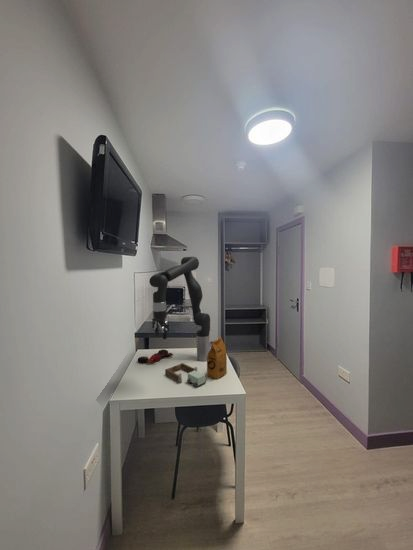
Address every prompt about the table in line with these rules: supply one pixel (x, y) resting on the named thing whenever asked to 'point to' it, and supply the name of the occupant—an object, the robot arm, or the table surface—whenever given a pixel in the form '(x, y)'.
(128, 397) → the table surface
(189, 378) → the cart
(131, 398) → the table surface
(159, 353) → the toy motorcycle
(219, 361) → the coffee package
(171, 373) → the bay
